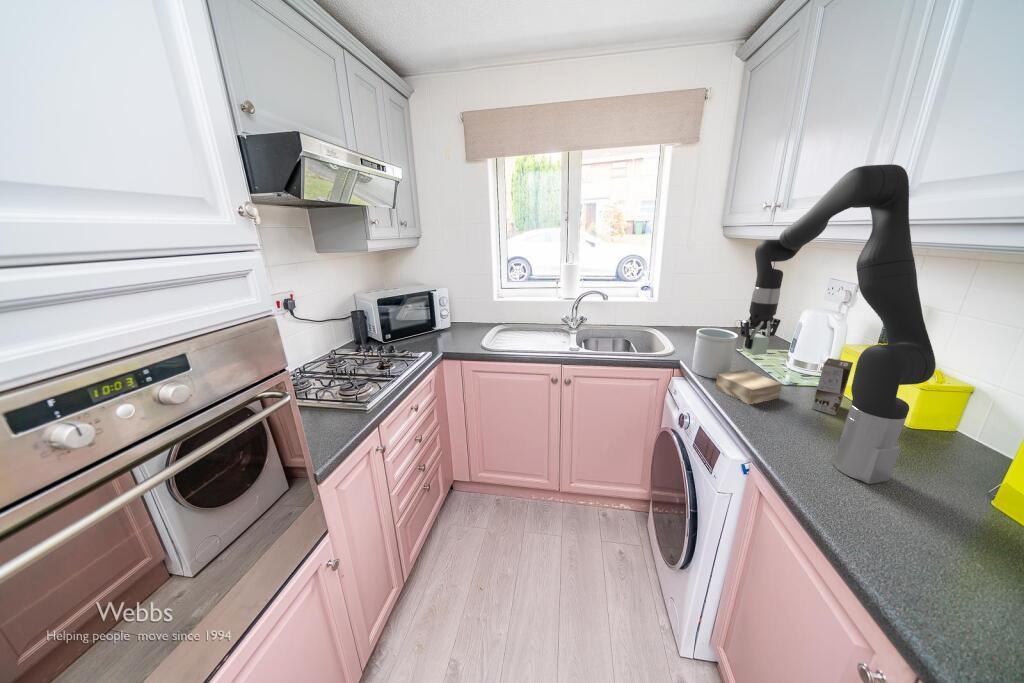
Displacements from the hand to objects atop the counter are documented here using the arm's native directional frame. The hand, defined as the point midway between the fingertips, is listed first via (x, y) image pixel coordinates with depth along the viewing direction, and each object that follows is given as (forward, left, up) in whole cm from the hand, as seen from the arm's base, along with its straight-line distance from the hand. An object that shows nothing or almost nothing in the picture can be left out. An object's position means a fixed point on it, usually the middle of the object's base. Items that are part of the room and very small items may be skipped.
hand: (755, 347), depth 124 cm
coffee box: (-15, -17, -18) cm, 29 cm away
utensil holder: (+20, -1, -18) cm, 27 cm away
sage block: (0, 0, -2) cm, 2 cm away
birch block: (0, 0, -18) cm, 18 cm away
